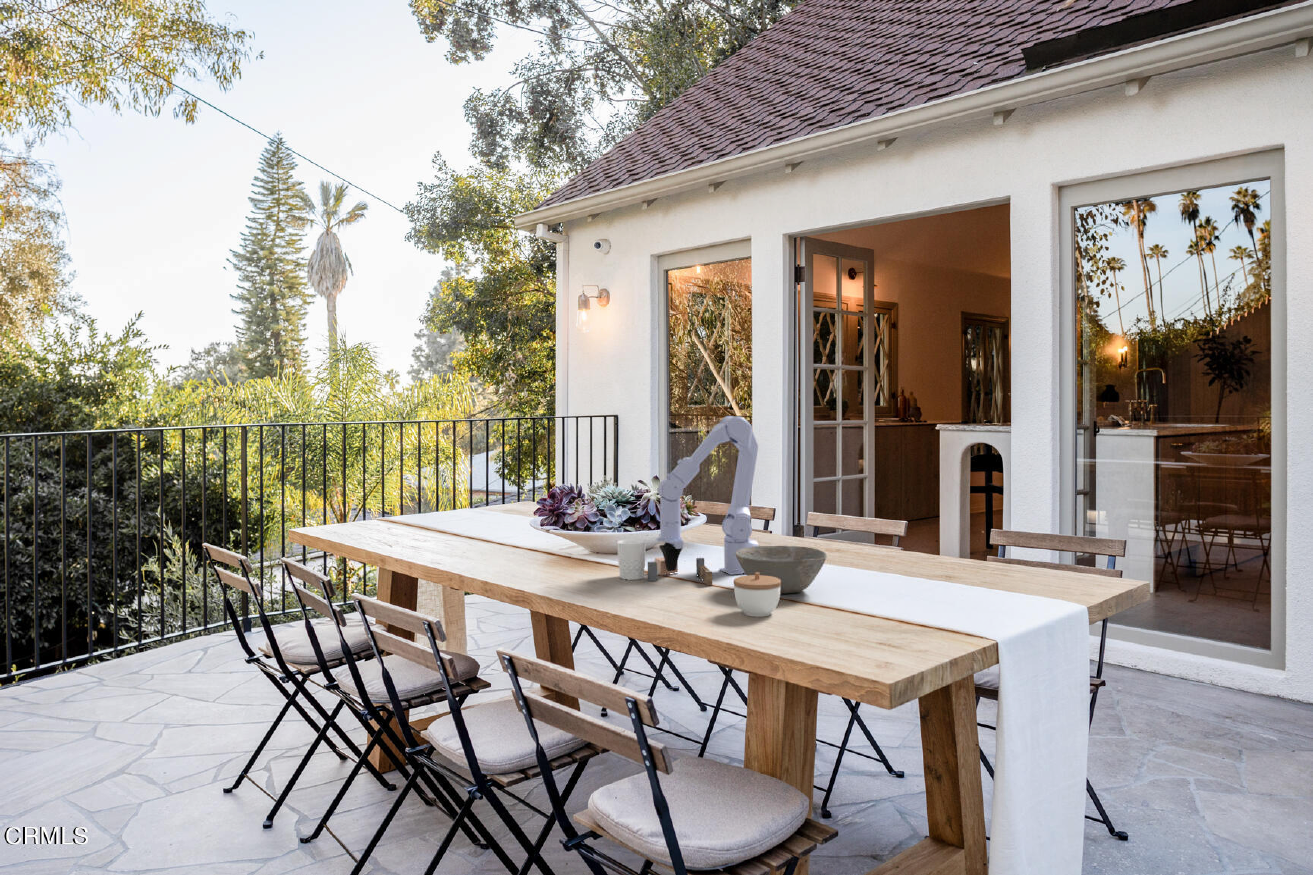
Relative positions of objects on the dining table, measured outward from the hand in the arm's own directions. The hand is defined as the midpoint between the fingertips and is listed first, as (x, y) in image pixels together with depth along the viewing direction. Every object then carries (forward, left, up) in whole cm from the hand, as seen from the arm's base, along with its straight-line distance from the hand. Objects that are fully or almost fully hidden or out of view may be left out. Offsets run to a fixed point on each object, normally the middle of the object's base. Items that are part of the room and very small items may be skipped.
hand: (671, 570), depth 238 cm
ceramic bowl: (-19, +29, -2) cm, 35 cm away
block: (0, -4, -1) cm, 4 cm away
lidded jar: (-4, +47, -2) cm, 48 cm away
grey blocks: (0, +4, -1) cm, 5 cm away
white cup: (+11, -2, -2) cm, 11 cm away
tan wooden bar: (-6, +12, -1) cm, 13 cm away
